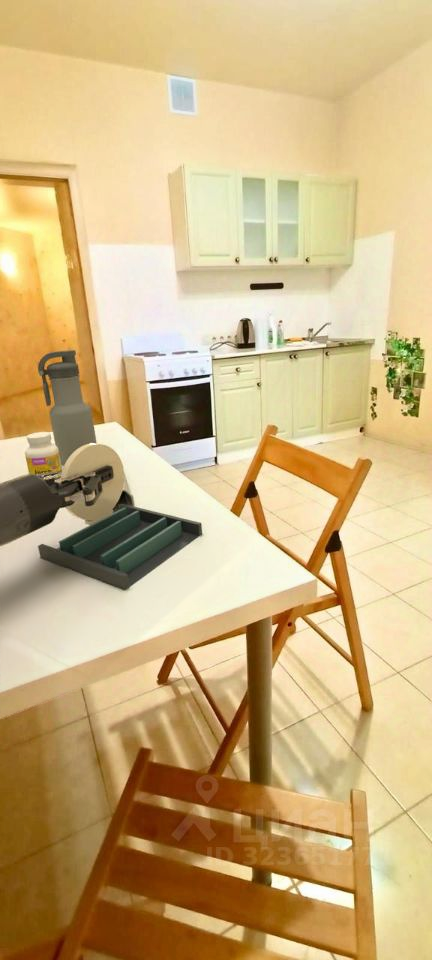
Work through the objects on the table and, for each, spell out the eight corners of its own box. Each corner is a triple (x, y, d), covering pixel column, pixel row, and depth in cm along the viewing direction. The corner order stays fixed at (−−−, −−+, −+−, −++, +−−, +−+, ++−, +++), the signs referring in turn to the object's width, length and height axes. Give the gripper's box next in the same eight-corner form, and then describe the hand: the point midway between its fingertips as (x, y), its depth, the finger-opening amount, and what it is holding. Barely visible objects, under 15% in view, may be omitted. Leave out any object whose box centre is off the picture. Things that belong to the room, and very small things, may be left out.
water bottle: (57, 475, 107) (33, 354, 97) (59, 463, 116) (37, 352, 106) (100, 469, 110) (81, 351, 100) (99, 458, 118) (81, 348, 109)
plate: (67, 533, 68) (52, 455, 63) (123, 504, 77) (114, 434, 73) (72, 534, 67) (58, 456, 63) (128, 505, 76) (119, 435, 72)
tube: (95, 460, 104) (99, 497, 81) (116, 450, 104) (126, 484, 82) (105, 479, 106) (113, 521, 83) (126, 469, 106) (139, 508, 84)
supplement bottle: (34, 500, 93) (21, 440, 88) (32, 490, 99) (20, 433, 94) (67, 494, 95) (56, 435, 91) (64, 484, 101) (53, 429, 97)
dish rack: (40, 562, 69) (36, 543, 68) (123, 516, 83) (121, 500, 82) (125, 595, 59) (122, 574, 58) (203, 537, 73) (201, 519, 72)
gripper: (36, 493, 53) (136, 453, 67) (-26, 476, 61) (75, 443, 74) (48, 548, 56) (141, 499, 69) (-14, 525, 63) (82, 485, 77)
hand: (107, 470), depth 72 cm, fingers closed on plate, 1 cm apart
